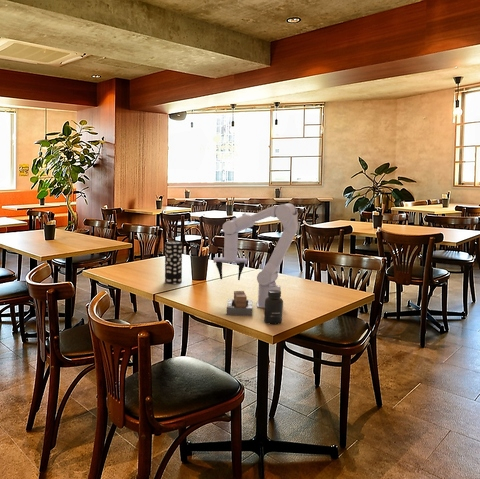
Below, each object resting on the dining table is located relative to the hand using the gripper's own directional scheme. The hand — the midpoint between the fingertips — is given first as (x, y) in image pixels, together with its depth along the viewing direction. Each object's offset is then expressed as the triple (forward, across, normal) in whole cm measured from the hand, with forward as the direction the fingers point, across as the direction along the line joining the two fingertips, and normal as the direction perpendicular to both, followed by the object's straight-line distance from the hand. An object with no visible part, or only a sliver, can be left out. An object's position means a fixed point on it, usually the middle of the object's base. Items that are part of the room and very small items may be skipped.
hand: (230, 279), depth 202 cm
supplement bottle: (+10, -18, +28) cm, 35 cm away
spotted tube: (+10, +30, -30) cm, 43 cm away
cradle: (+9, -5, +15) cm, 18 cm away
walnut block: (+8, -5, +15) cm, 18 cm away
